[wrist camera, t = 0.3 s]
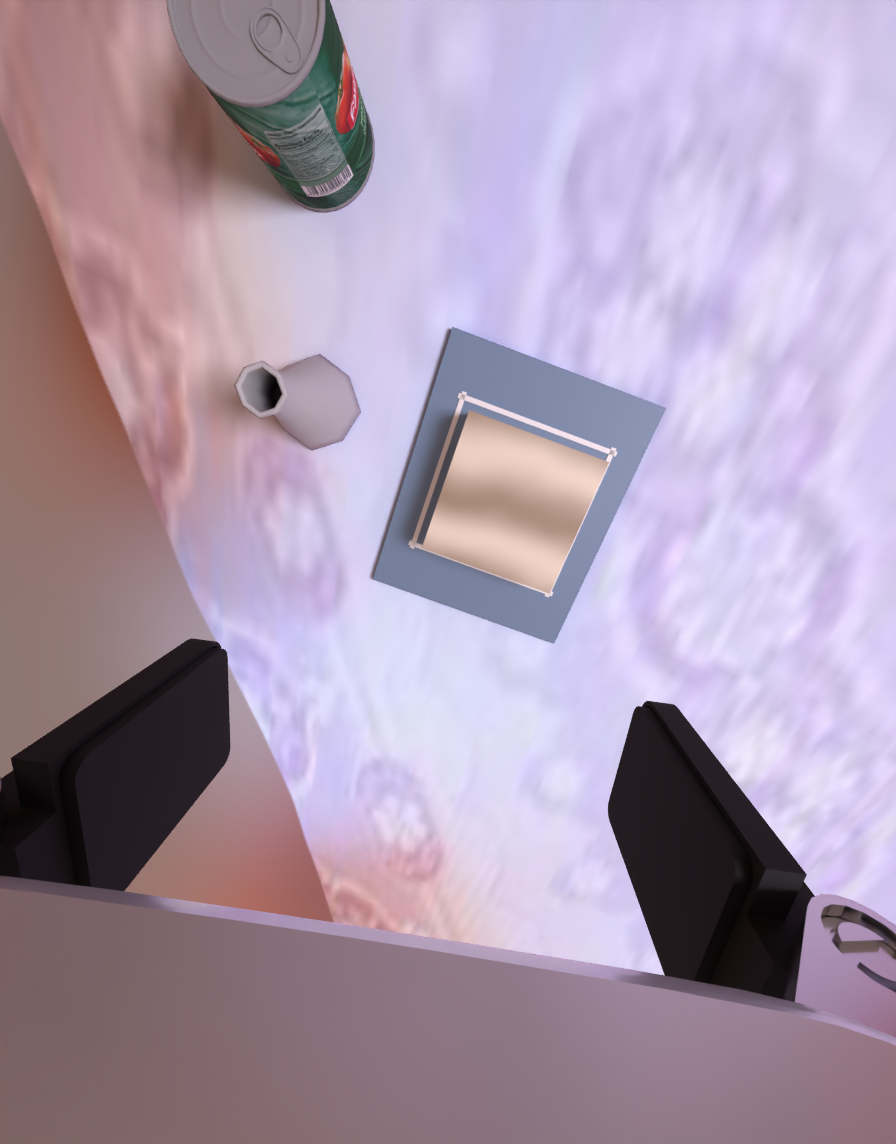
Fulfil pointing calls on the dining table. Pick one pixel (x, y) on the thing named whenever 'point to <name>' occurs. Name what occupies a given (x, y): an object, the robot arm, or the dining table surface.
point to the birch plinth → (512, 502)
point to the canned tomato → (284, 90)
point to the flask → (302, 399)
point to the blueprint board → (537, 406)
